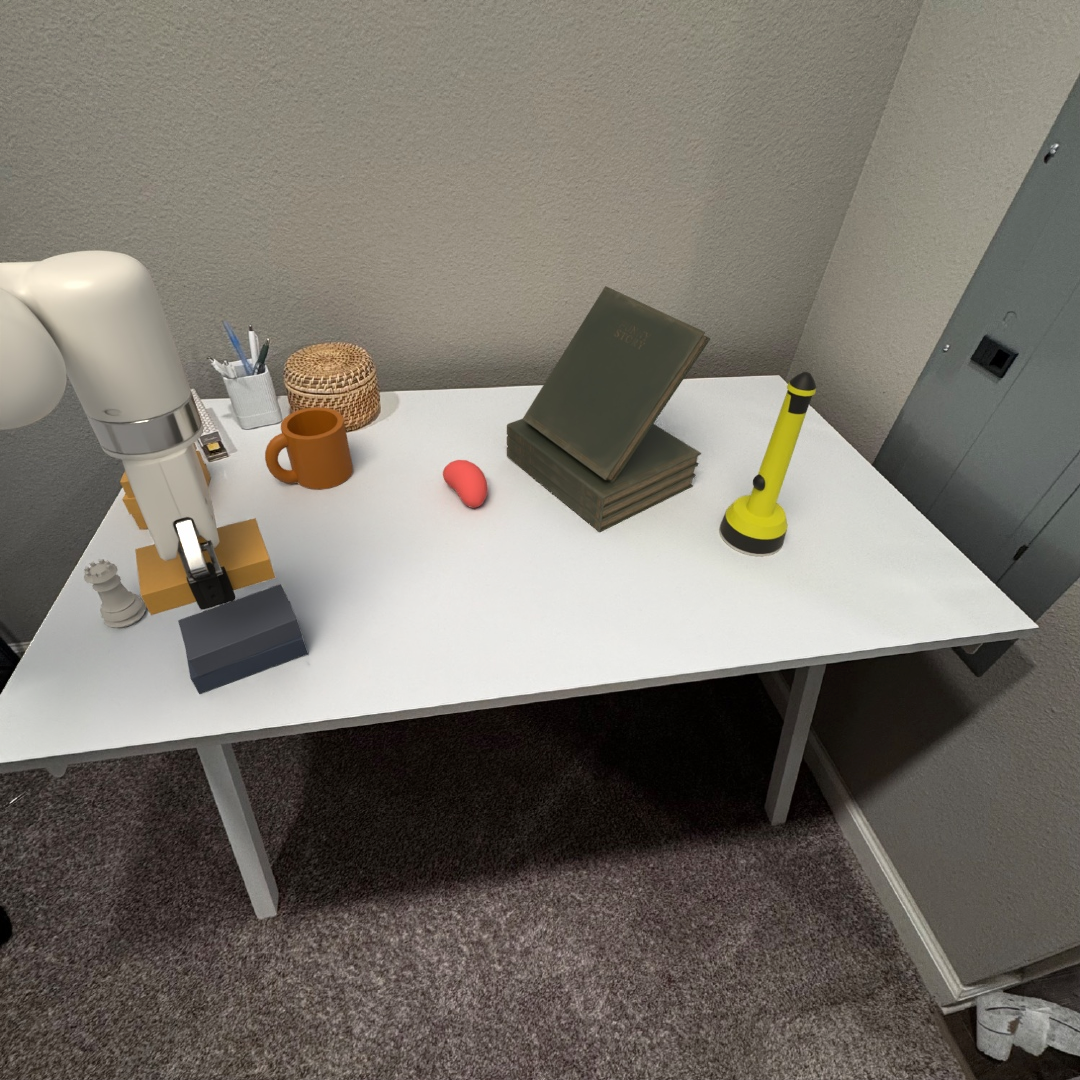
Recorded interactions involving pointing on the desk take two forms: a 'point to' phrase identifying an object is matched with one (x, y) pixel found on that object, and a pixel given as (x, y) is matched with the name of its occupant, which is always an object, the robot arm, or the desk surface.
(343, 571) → the desk surface
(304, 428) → the mug
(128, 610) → the rook chess piece
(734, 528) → the flashlight
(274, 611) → the slate books
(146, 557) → the orange tan block
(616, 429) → the olive book stack
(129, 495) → the tan block stack
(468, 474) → the red kidney bean
